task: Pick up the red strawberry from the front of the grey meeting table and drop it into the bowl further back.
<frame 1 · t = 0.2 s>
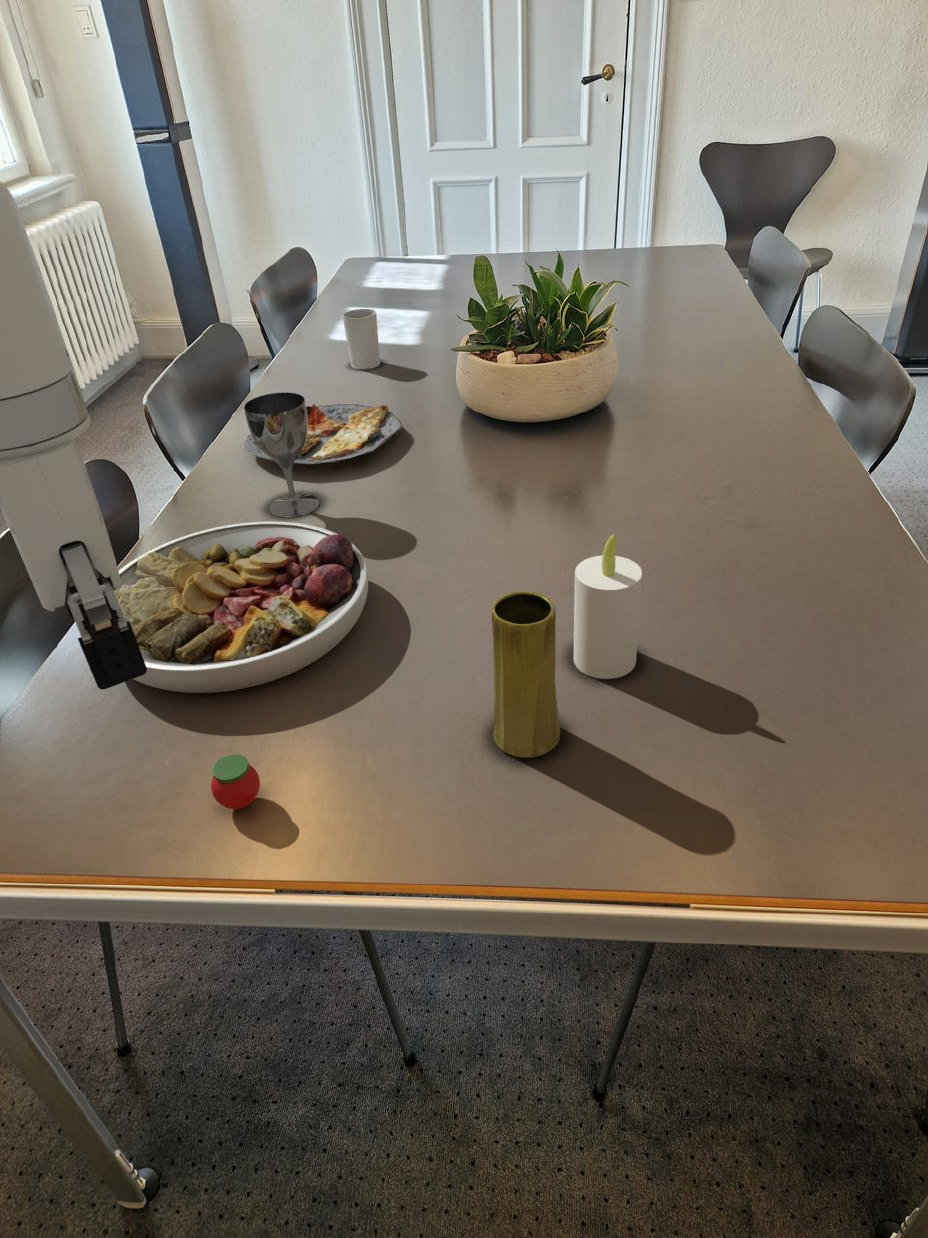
hand: (108, 644, 60), 20 cm above the table, tool pointing down, fingers open, 9 cm apart
white cup: (366, 365, 170), on the table
candle: (604, 660, 87), on the table
bowl: (240, 624, 96), on the table
food plate: (326, 444, 138), on the table
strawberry: (241, 803, 73), on the table
vase: (526, 737, 78), on the table
wine glass: (294, 506, 120), on the table
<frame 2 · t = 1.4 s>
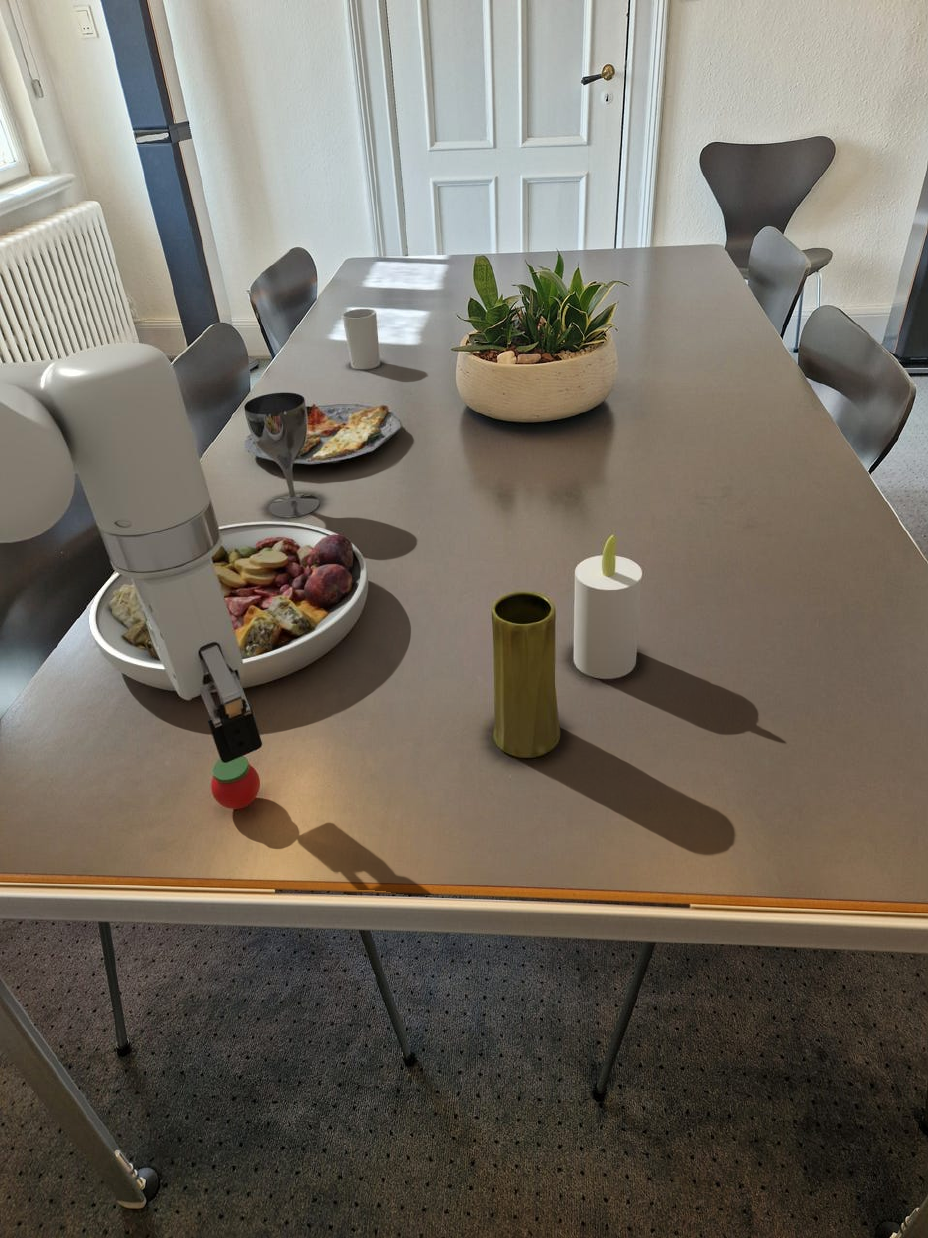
hand: (222, 718, 68), 10 cm above the table, tool pointing down, fingers open, 9 cm apart
nothing on the table moved.
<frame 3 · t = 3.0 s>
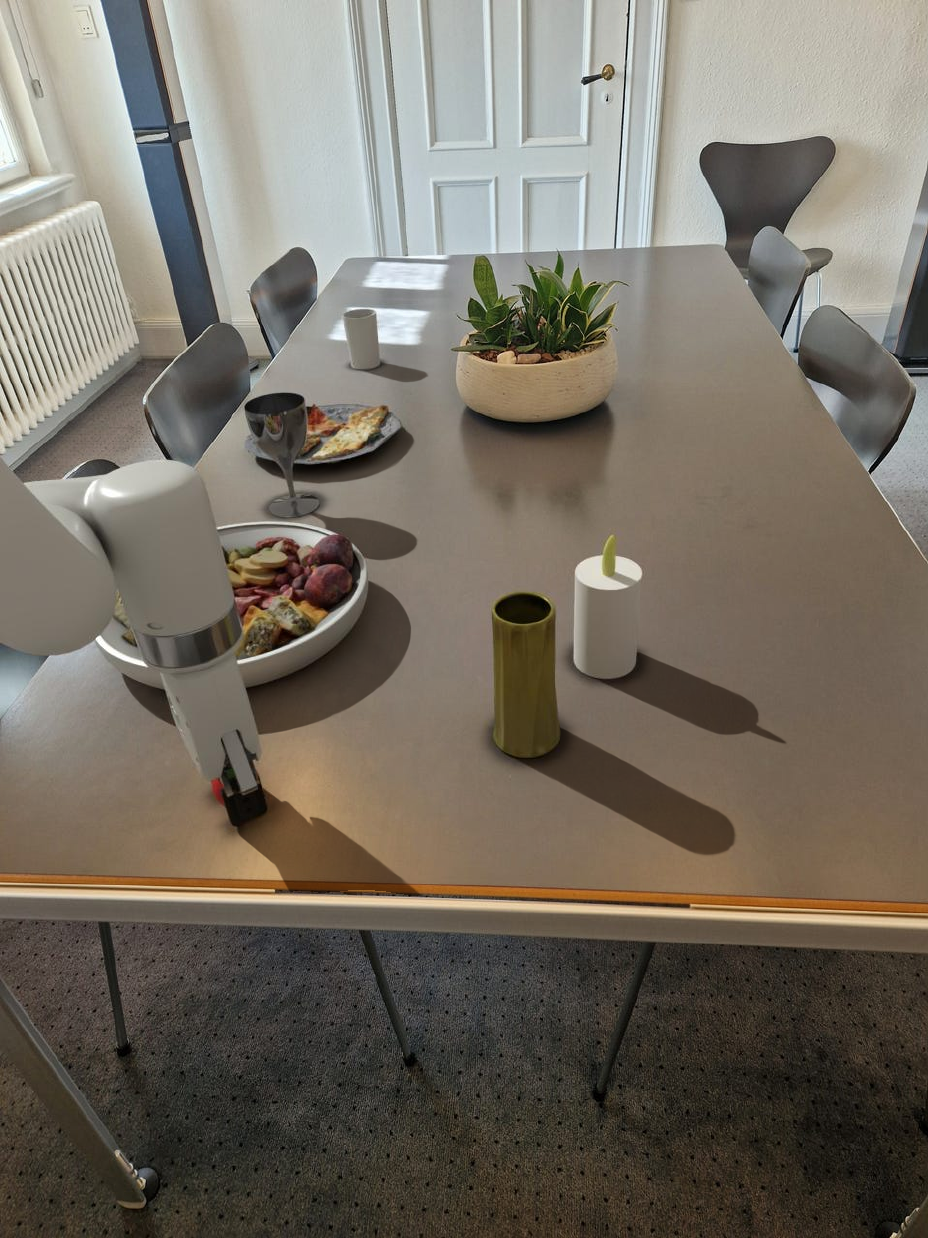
hand: (240, 799, 73), 1 cm above the table, tool pointing down, fingers closed on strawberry, 3 cm apart
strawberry: (241, 803, 73), on the table, touching gripper
everything else where it was.
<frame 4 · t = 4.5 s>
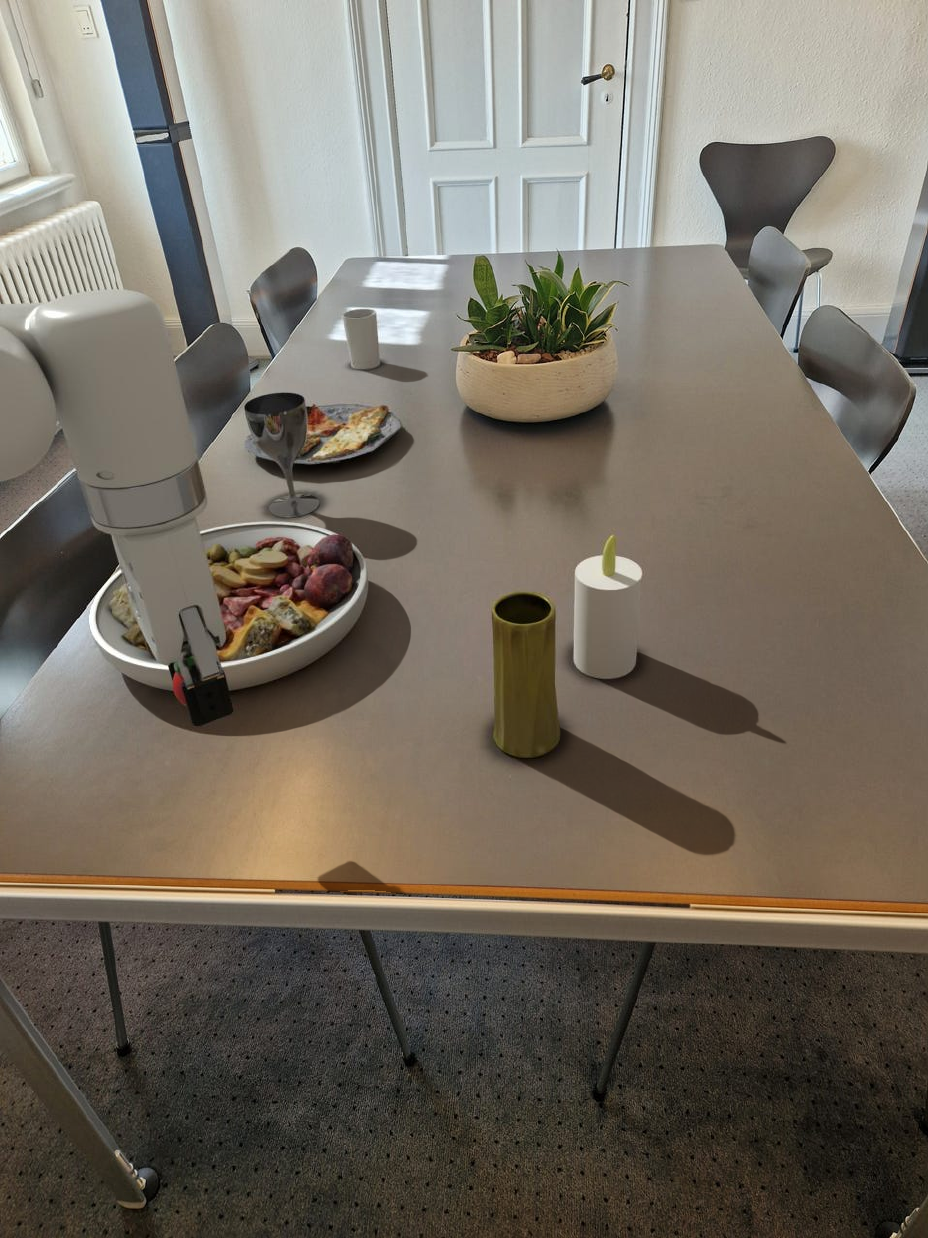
hand: (204, 700, 67), 12 cm above the table, tool pointing down, fingers closed on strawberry, 3 cm apart
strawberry: (206, 706, 67), point 11 cm above the table, touching gripper
everything else where it was.
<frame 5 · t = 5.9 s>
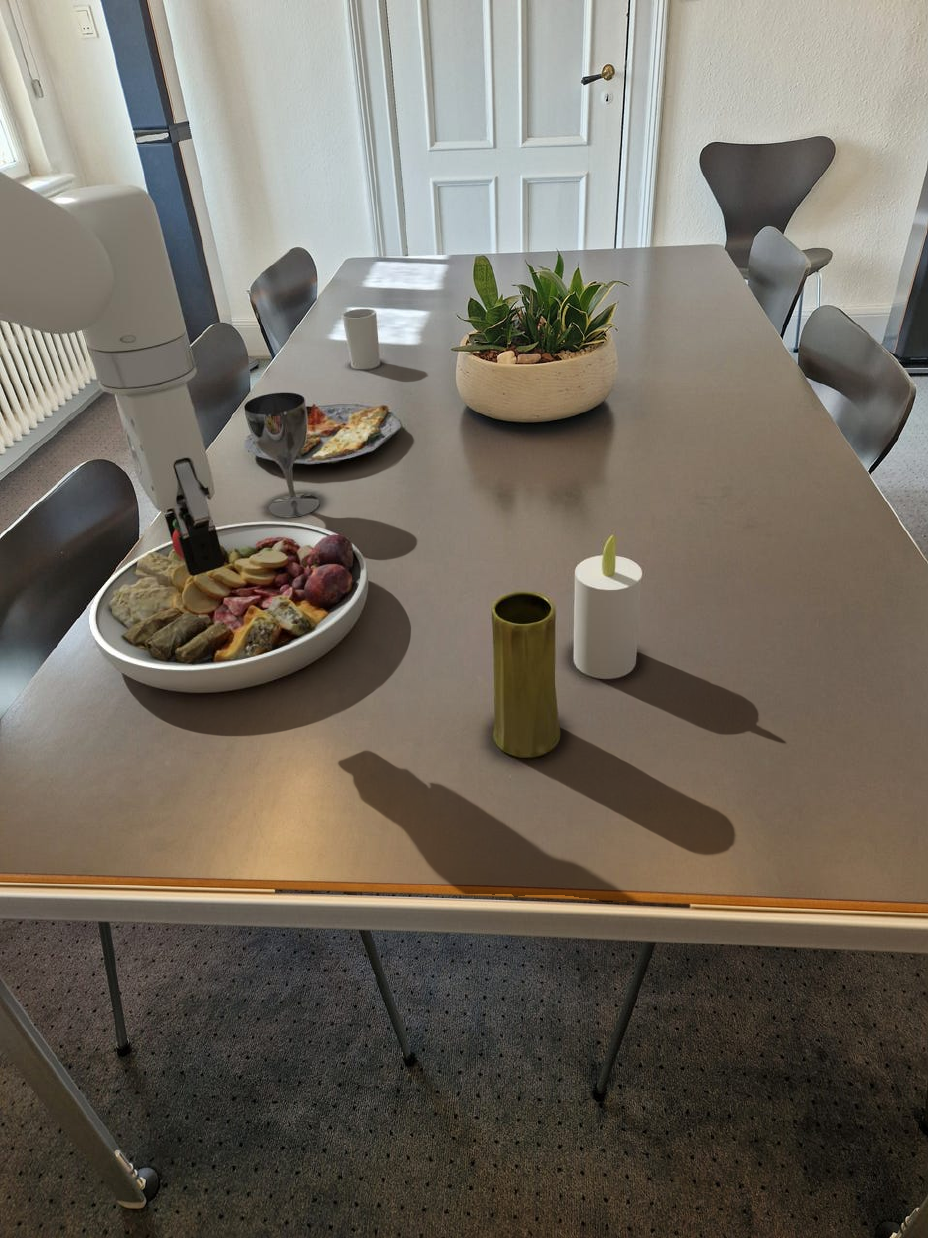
hand: (199, 557, 78), 16 cm above the table, tool pointing down, fingers closed on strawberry, 3 cm apart
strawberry: (201, 562, 78), point 15 cm above the table, touching gripper
everything else where it was.
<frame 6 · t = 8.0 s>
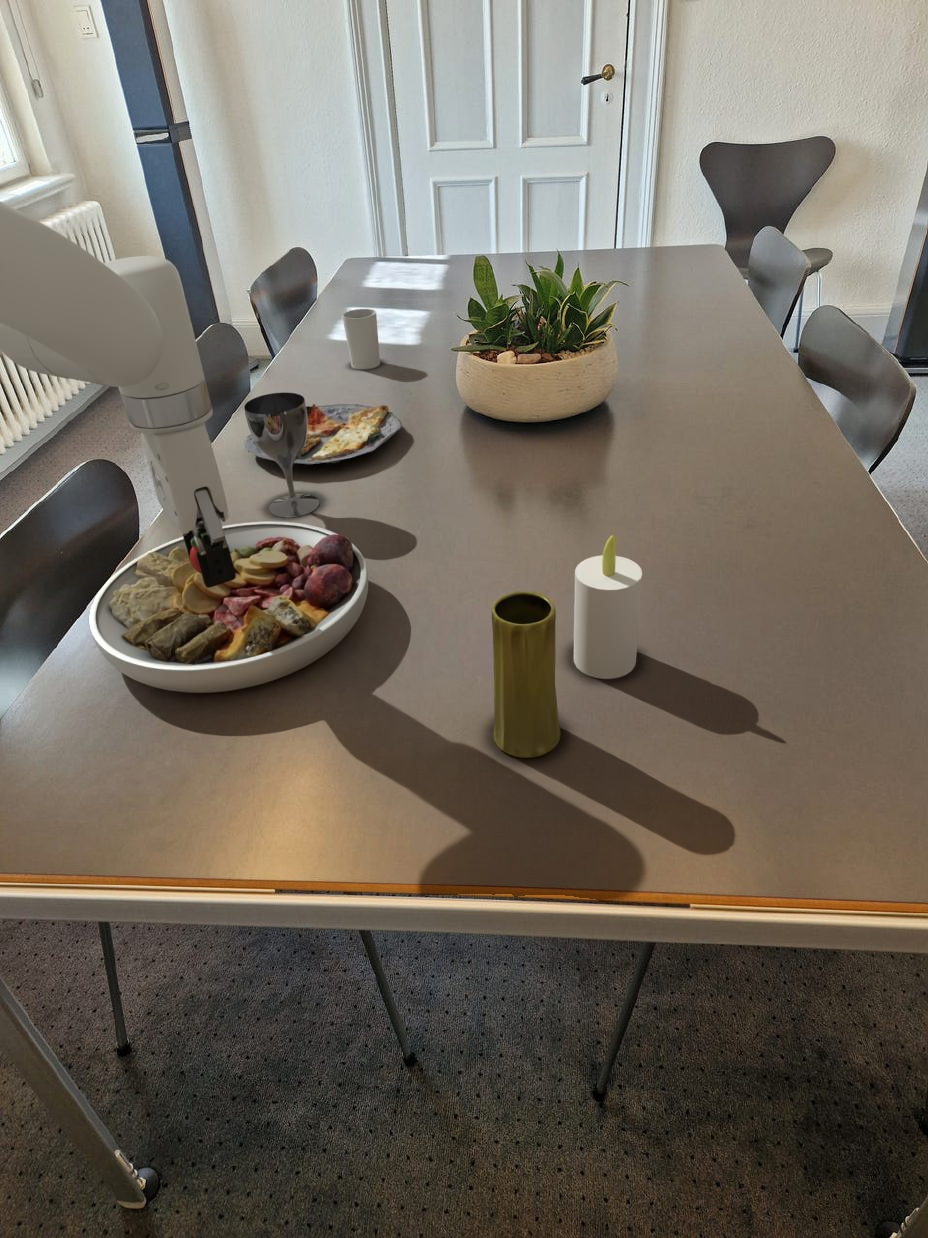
hand: (213, 571, 88), 9 cm above the table, tool pointing down, fingers closed on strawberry, 3 cm apart
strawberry: (215, 575, 89), point 9 cm above the table, touching gripper
everything else where it was.
when the fingers open (7 cm above the table, at t = 9.0 s): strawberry moves 1 cm and tips over, resting on bowl.
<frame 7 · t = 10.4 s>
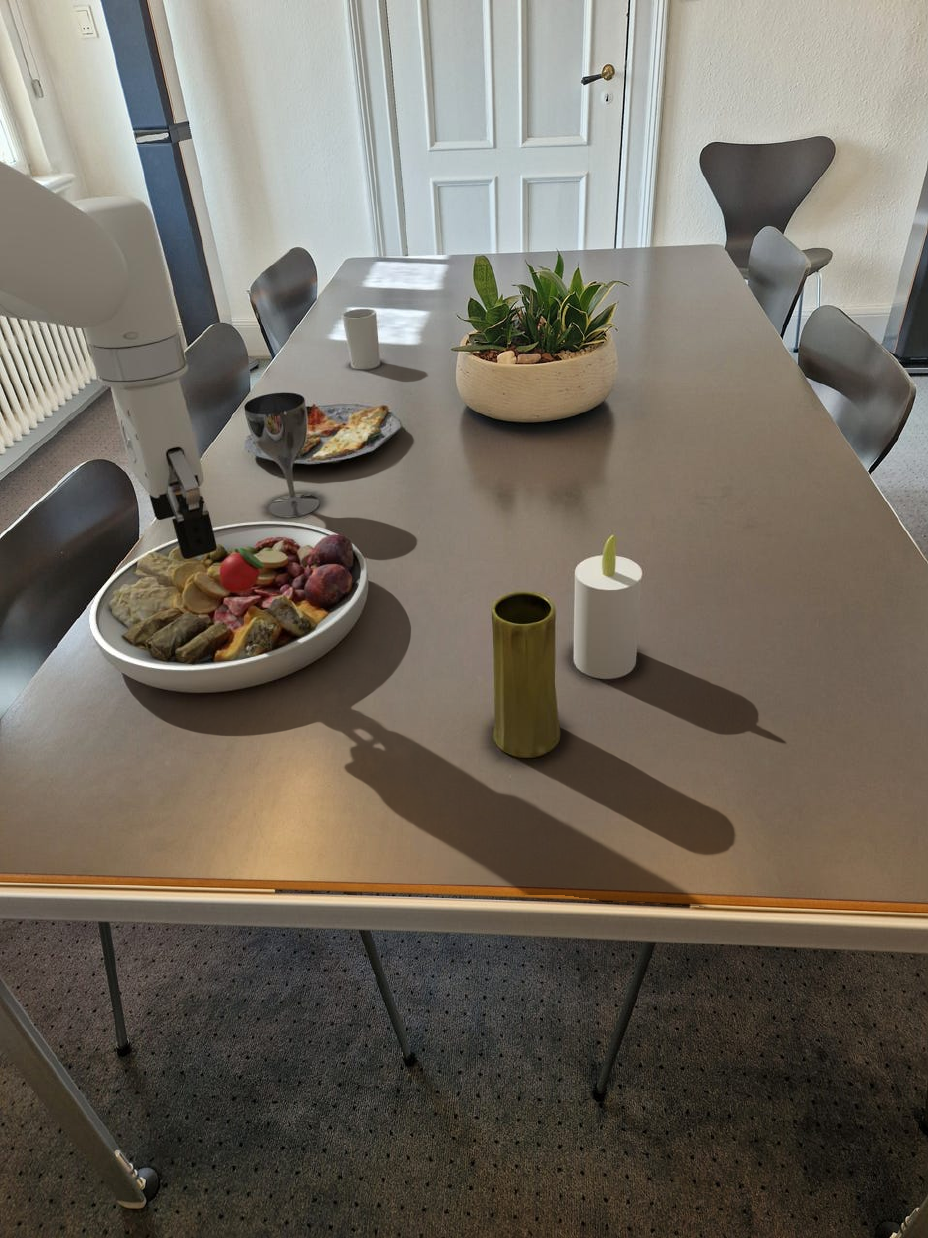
hand: (185, 534, 83), 15 cm above the table, tool pointing down, fingers open, 9 cm apart
bowl: (241, 624, 97), on the table, touching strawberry
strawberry: (225, 588, 89), point 7 cm above the table, tilted 52°, touching bowl
everything else where it was.
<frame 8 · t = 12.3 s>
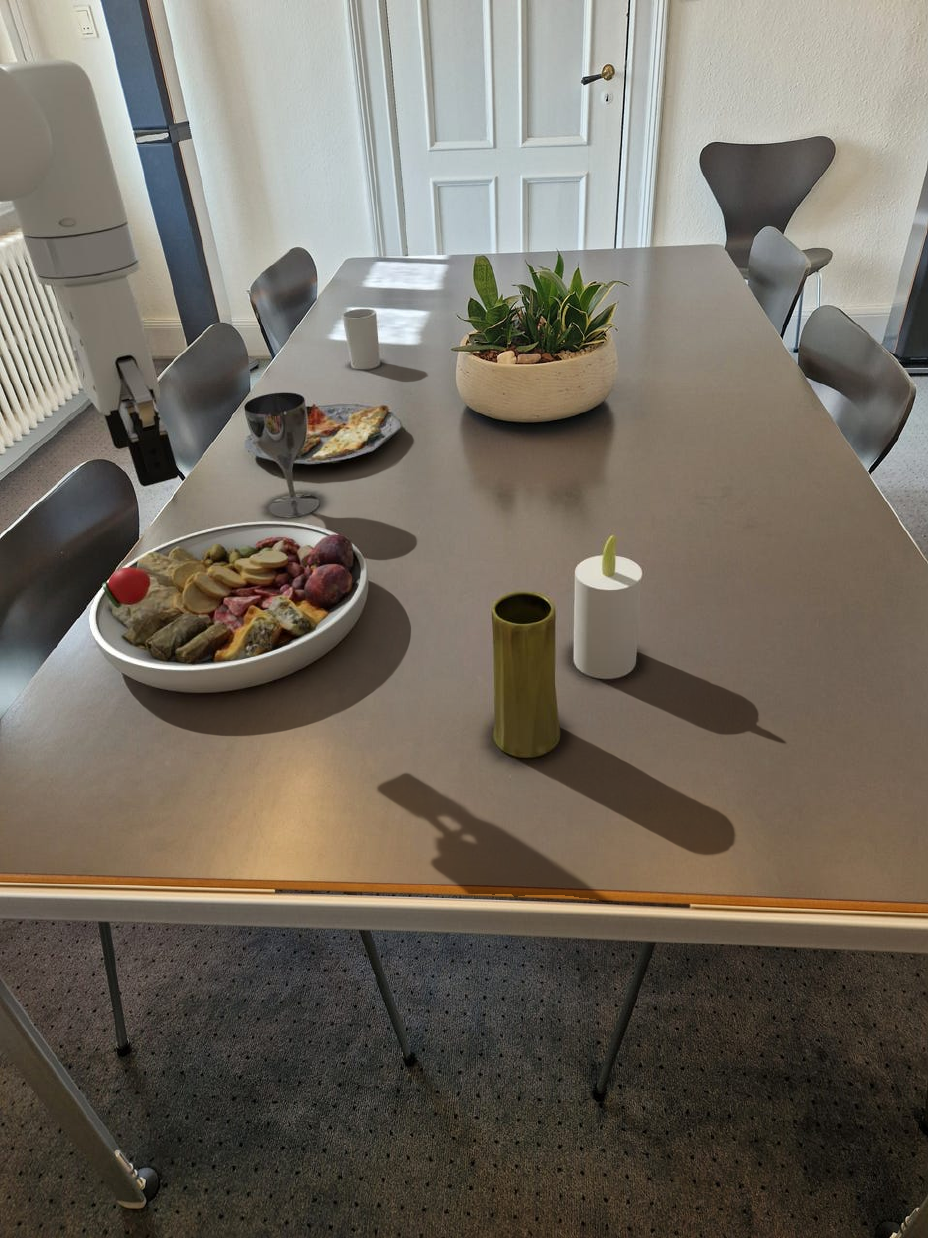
hand: (145, 461, 74), 24 cm above the table, tool pointing down, fingers open, 9 cm apart
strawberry: (148, 575, 90), point 8 cm above the table, tilted 106°, touching bowl
everything else where it was.
at the end: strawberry inside the target area in the bowl (7.6 cm from its centre), point 7.9 cm above the bowl's base; the gripper is holding nothing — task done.
